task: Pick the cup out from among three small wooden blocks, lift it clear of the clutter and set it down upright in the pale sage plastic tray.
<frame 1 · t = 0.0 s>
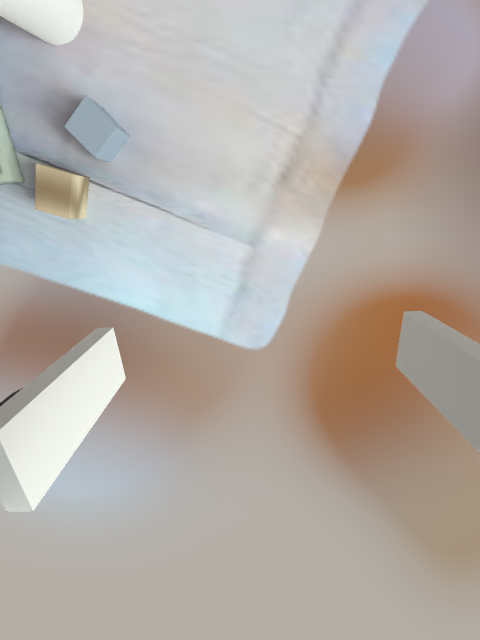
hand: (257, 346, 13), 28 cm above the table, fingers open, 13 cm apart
slate blue block: (106, 136, 34), on the table
cup: (53, 7, 30), on the table
oak block: (72, 193, 37), on the table
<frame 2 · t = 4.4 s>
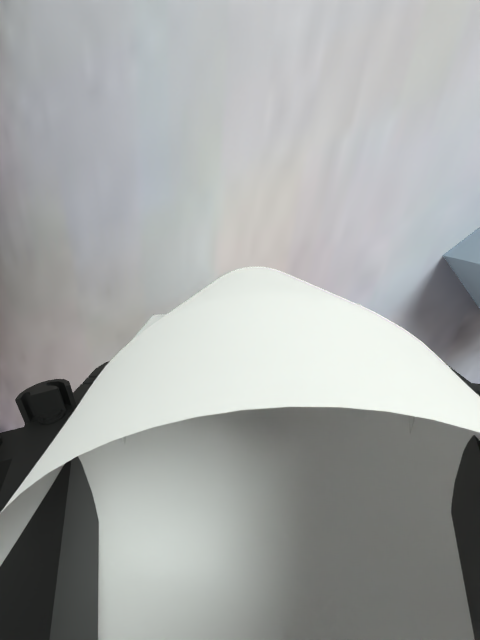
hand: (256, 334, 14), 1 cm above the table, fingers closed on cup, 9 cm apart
cup: (255, 326, 15), on the table, touching gripper
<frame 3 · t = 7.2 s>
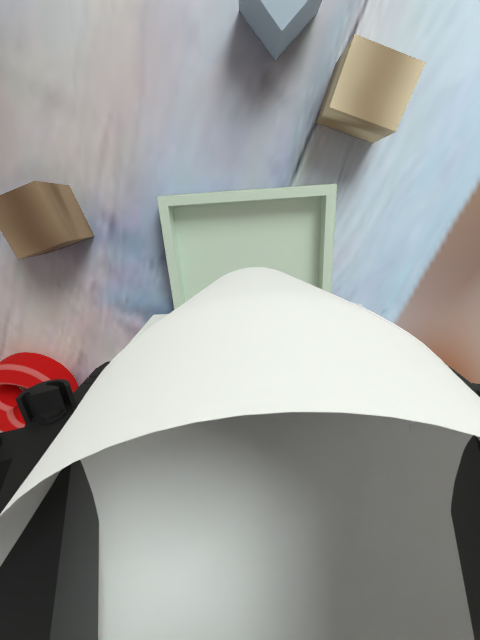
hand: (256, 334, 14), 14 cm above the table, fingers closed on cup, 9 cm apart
walnut block: (61, 219, 26), on the table
slate blue block: (278, 12, 21), on the table
cup: (255, 327, 15), point 13 cm above the table, touching gripper
decorative ornament: (40, 387, 33), on the table
tray: (249, 273, 28), on the table
oak block: (354, 105, 23), on the table
when the fingers open (3 cm above the table, at t = 10.0 s): cup drops 1 cm, resting on tray.
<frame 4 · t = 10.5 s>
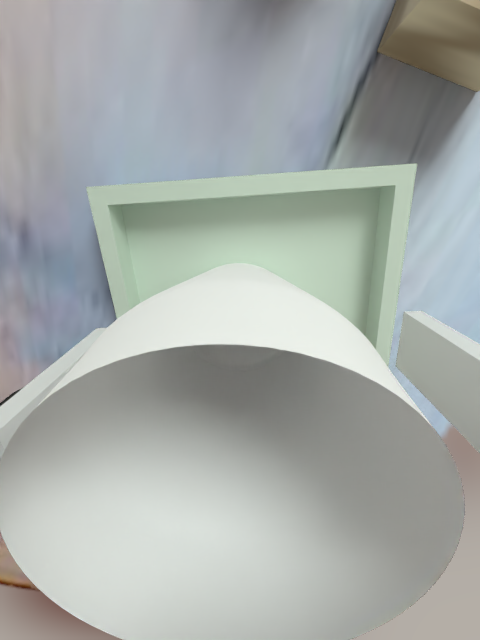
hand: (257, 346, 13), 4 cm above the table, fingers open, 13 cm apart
cup: (239, 318, 17), resting on tray
tray: (254, 315, 17), on the table
oak block: (450, 17, 12), on the table
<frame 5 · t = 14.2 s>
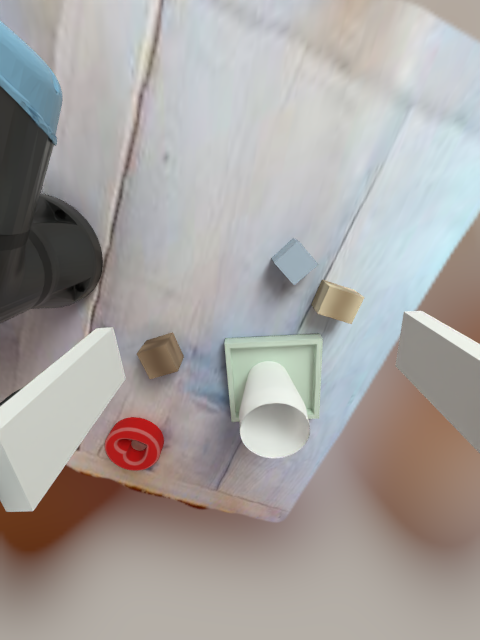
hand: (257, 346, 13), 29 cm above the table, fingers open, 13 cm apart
walnut block: (165, 348, 46), on the table
slate blue block: (291, 258, 40), on the table
cup: (267, 377, 47), resting on tray
decorative ornament: (138, 436, 53), on the table
tray: (273, 376, 47), on the table
oak block: (332, 297, 42), on the table
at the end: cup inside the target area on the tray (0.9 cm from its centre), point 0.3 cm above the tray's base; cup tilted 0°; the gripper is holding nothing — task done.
